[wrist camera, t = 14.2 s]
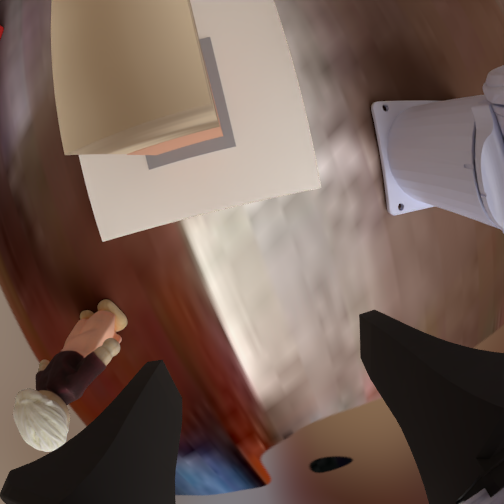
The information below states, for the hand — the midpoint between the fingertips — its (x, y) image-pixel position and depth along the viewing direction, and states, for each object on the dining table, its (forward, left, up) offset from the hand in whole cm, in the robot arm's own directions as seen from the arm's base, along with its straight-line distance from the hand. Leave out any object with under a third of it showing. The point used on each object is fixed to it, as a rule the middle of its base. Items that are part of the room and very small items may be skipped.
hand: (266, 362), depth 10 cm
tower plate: (+2, -11, -10) cm, 15 cm away
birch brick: (+2, -11, -4) cm, 12 cm away
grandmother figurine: (+12, +2, -11) cm, 16 cm away
